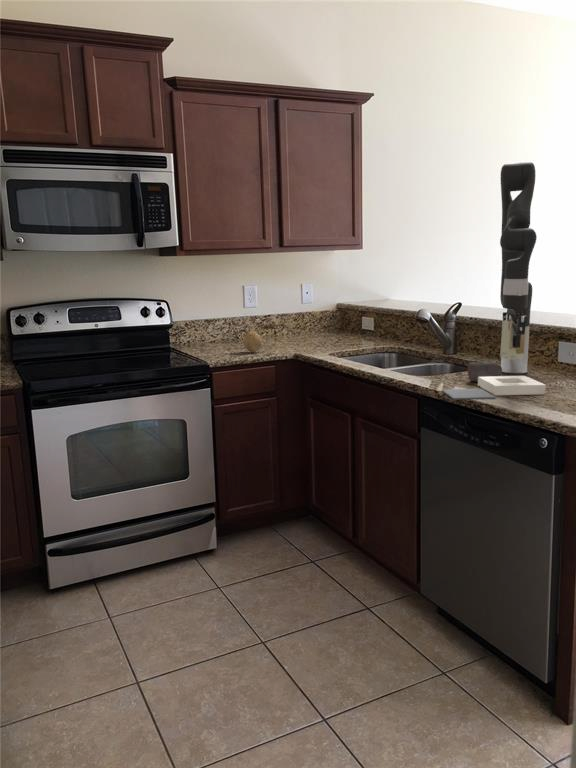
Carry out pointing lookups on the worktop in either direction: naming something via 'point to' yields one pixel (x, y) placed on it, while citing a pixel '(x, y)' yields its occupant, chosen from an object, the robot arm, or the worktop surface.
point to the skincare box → (510, 342)
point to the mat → (468, 394)
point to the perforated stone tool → (483, 370)
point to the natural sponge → (252, 341)
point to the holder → (511, 385)
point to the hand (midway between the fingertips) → (512, 345)
